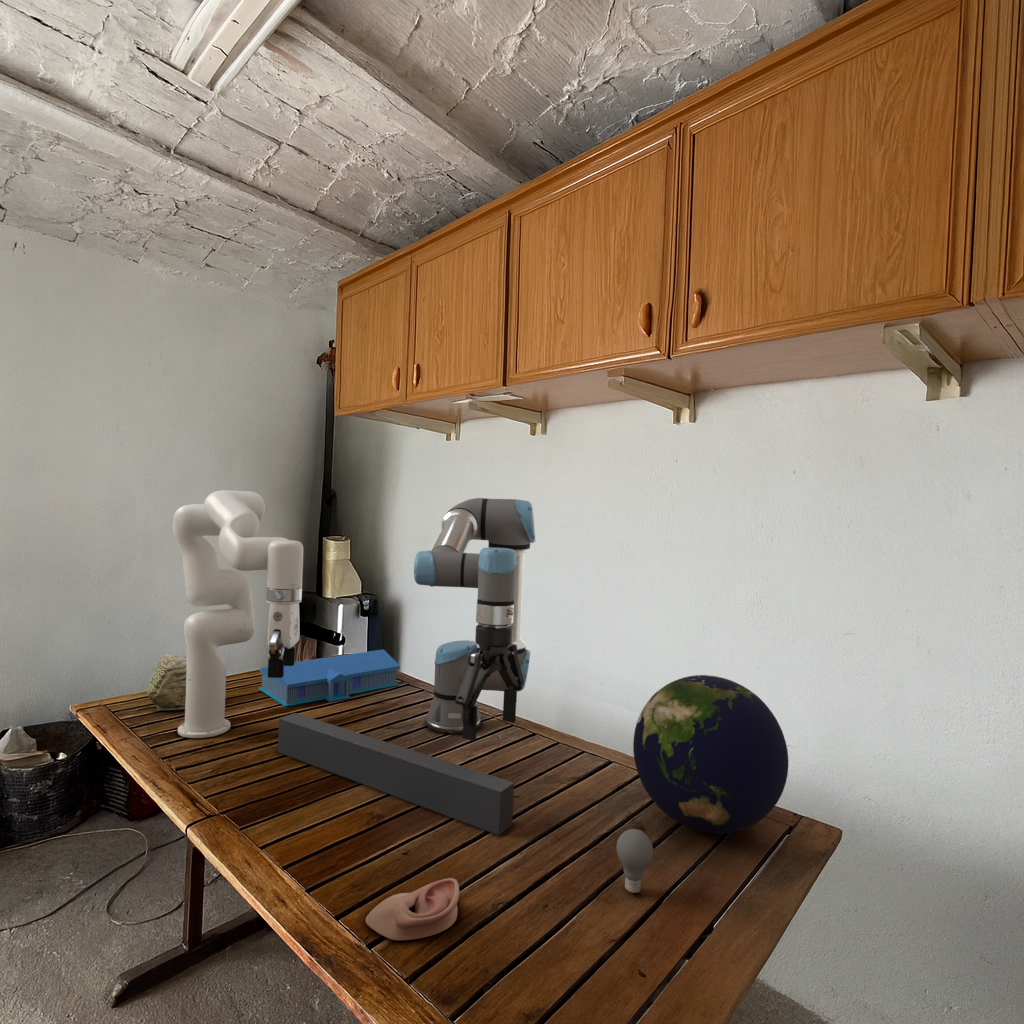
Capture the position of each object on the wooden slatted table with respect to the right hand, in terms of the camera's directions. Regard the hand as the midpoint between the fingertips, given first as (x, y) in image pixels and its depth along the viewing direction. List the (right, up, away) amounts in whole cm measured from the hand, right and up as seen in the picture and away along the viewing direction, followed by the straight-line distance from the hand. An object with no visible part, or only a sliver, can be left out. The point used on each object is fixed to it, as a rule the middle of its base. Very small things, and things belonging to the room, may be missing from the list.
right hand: (489, 730), depth 128 cm
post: (-24, -17, +13) cm, 32 cm away
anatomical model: (-11, -18, -31) cm, 37 cm away
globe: (+44, -20, +1) cm, 48 cm away
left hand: (-47, +8, +15) cm, 50 cm away
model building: (-55, -14, +80) cm, 98 cm away
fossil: (-92, -13, +57) cm, 109 cm away
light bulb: (+25, -19, -22) cm, 38 cm away
